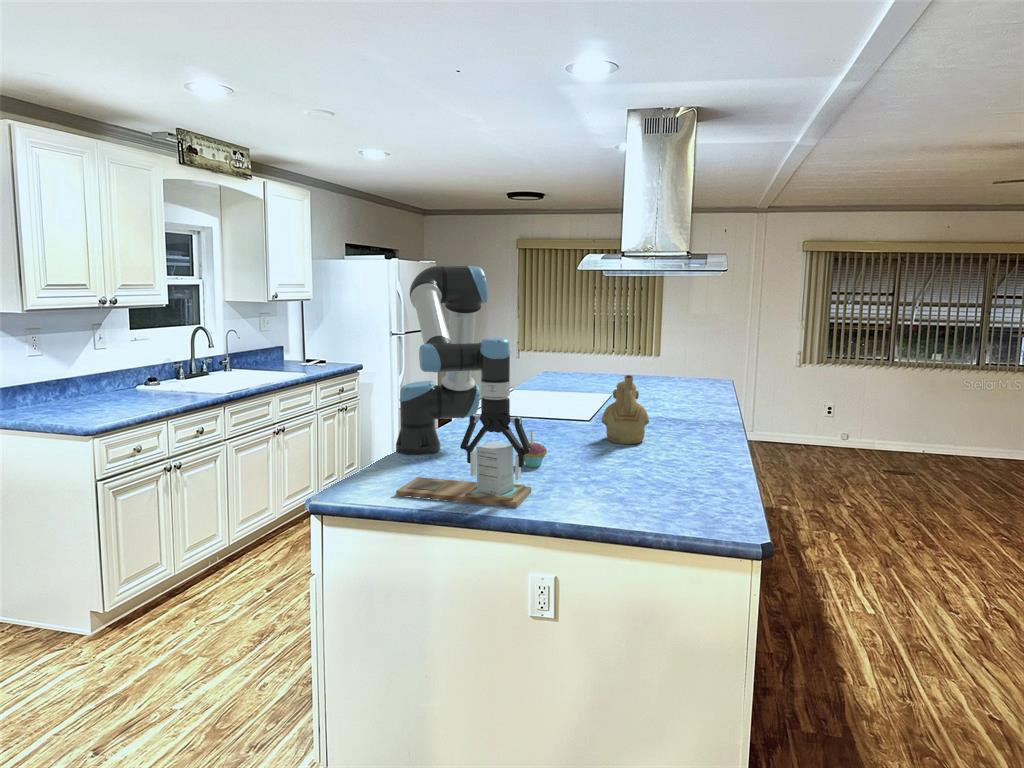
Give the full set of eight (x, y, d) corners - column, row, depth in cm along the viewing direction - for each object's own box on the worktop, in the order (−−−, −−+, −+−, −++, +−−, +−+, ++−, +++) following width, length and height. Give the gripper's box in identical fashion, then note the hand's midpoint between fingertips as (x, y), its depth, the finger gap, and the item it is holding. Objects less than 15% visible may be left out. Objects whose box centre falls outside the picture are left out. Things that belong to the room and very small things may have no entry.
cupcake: (542, 469, 218) (542, 431, 216) (515, 467, 221) (516, 429, 219) (549, 463, 226) (550, 426, 224) (524, 460, 229) (524, 424, 227)
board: (396, 496, 191) (396, 487, 191) (417, 482, 205) (417, 474, 204) (516, 507, 182) (516, 499, 181) (531, 492, 195) (531, 484, 195)
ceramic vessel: (646, 435, 267) (647, 369, 263) (650, 447, 247) (653, 376, 244) (600, 434, 268) (601, 369, 265) (601, 446, 249) (603, 376, 245)
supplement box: (492, 485, 196) (491, 440, 194) (514, 489, 191) (514, 443, 190) (476, 492, 190) (475, 445, 188) (498, 496, 185) (498, 449, 184)
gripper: (447, 397, 187) (448, 476, 190) (536, 401, 180) (535, 484, 183) (457, 392, 194) (458, 469, 197) (543, 397, 187) (542, 476, 190)
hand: (495, 476), depth 190 cm, fingers open, 12 cm apart
